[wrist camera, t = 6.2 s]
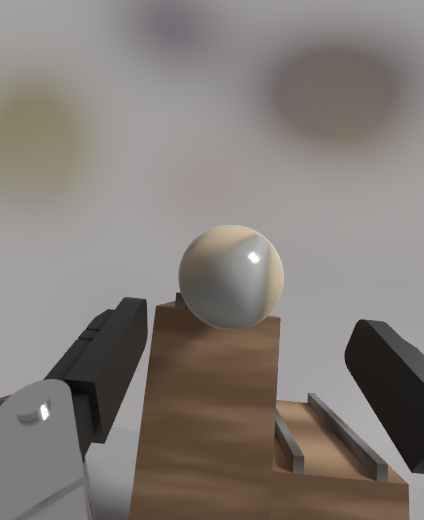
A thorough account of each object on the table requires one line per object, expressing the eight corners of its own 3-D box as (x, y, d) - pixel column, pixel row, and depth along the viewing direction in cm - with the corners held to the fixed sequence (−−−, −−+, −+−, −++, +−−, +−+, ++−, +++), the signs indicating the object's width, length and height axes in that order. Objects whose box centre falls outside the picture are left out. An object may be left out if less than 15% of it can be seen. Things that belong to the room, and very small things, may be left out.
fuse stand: (417, 875, 14) (404, 314, 19) (87, 842, 14) (157, 290, 19) (321, 606, 26) (328, 306, 30) (143, 588, 26) (177, 291, 30)
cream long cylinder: (281, 335, 9) (286, 229, 10) (172, 324, 9) (184, 220, 10) (232, 306, 29) (235, 271, 30) (197, 302, 29) (200, 268, 30)
